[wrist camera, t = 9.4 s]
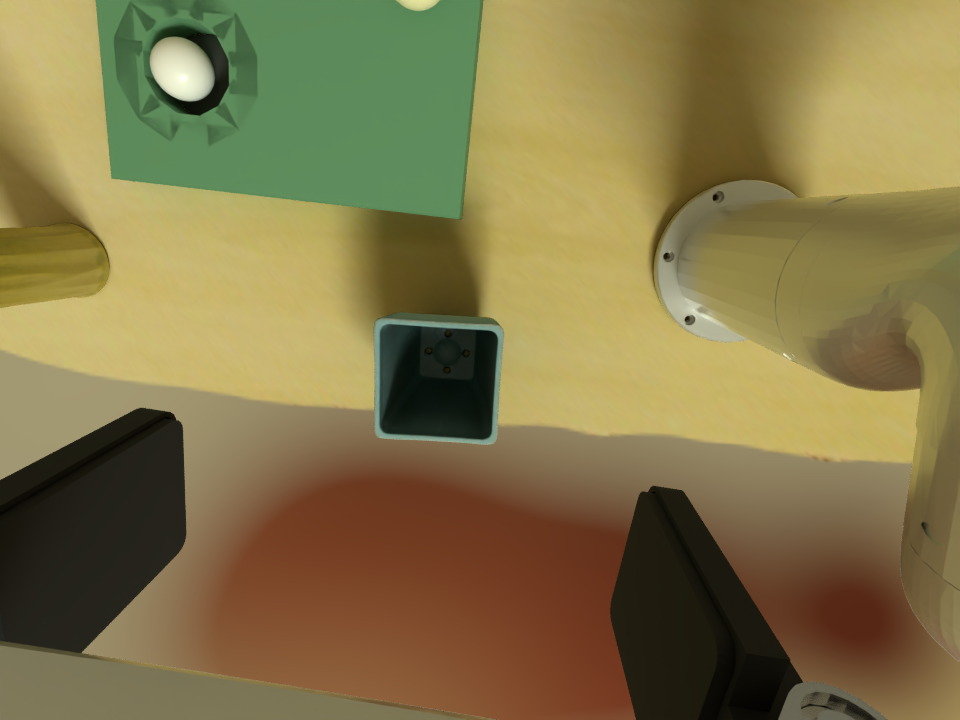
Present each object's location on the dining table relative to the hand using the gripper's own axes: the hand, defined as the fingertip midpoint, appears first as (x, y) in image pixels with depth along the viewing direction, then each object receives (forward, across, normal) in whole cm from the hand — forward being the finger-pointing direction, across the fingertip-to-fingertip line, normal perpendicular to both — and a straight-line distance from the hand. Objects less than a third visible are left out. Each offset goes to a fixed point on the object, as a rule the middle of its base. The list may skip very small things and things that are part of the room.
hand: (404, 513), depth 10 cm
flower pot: (+33, +2, +6) cm, 33 cm away
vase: (+32, +34, +3) cm, 47 cm away
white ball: (+30, +23, -13) cm, 40 cm away
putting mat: (+32, +16, -13) cm, 38 cm away
